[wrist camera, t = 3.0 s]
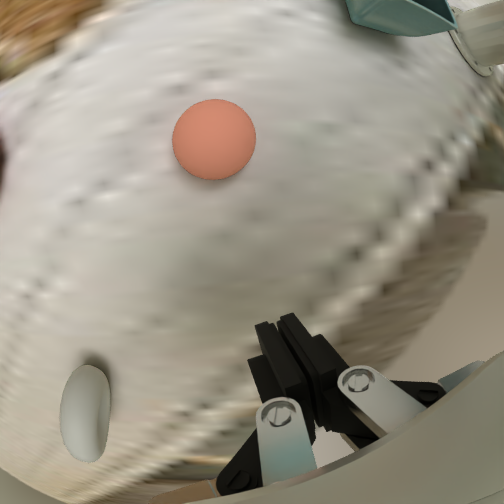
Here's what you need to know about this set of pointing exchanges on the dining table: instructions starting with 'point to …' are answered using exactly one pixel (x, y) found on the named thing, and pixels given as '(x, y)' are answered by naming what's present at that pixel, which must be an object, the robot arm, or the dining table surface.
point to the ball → (214, 139)
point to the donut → (85, 413)
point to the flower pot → (403, 16)
